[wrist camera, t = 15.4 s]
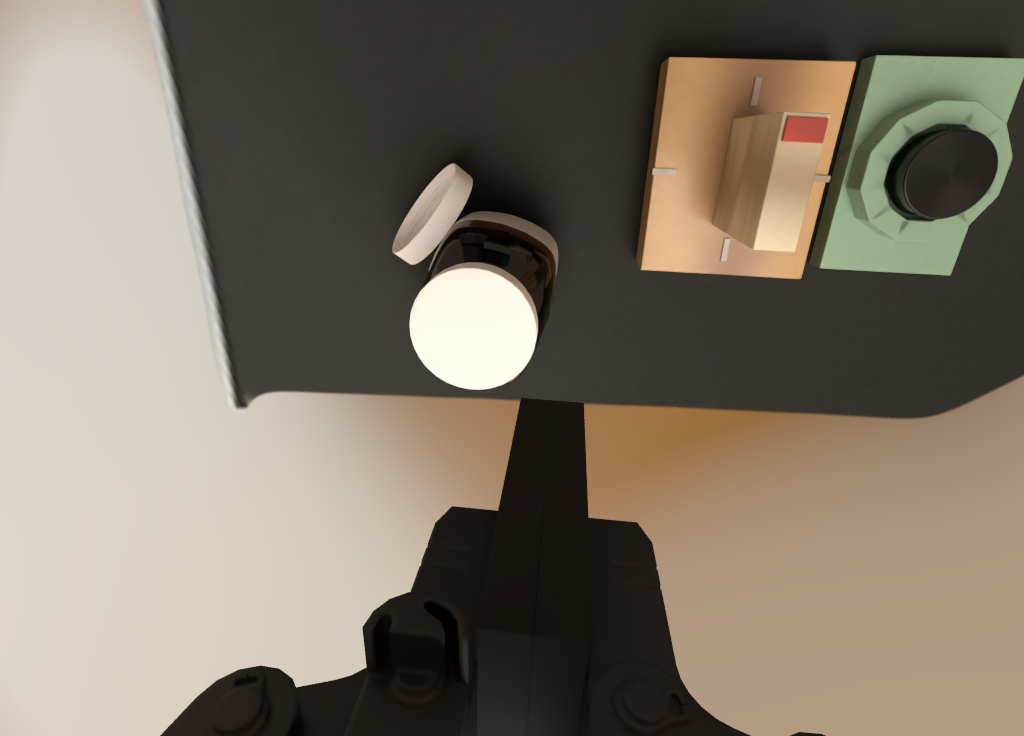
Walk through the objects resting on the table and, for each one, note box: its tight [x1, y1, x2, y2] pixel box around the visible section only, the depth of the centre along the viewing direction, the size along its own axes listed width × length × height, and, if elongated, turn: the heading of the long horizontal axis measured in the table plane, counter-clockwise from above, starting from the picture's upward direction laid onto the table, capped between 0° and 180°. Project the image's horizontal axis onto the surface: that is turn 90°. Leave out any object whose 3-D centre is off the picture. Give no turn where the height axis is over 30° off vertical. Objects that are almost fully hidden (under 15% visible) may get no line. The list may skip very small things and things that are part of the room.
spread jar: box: [392, 163, 558, 390], centre depth 33 cm, size 12×11×12 cm
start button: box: [887, 129, 998, 219], centre depth 29 cm, size 5×5×2 cm
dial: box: [713, 111, 831, 253], centre depth 28 cm, size 6×2×8 cm, turn 178°
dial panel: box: [636, 57, 856, 279], centre depth 33 cm, size 10×12×3 cm
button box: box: [809, 55, 1024, 275], centre depth 32 cm, size 12×8×4 cm, turn 179°
